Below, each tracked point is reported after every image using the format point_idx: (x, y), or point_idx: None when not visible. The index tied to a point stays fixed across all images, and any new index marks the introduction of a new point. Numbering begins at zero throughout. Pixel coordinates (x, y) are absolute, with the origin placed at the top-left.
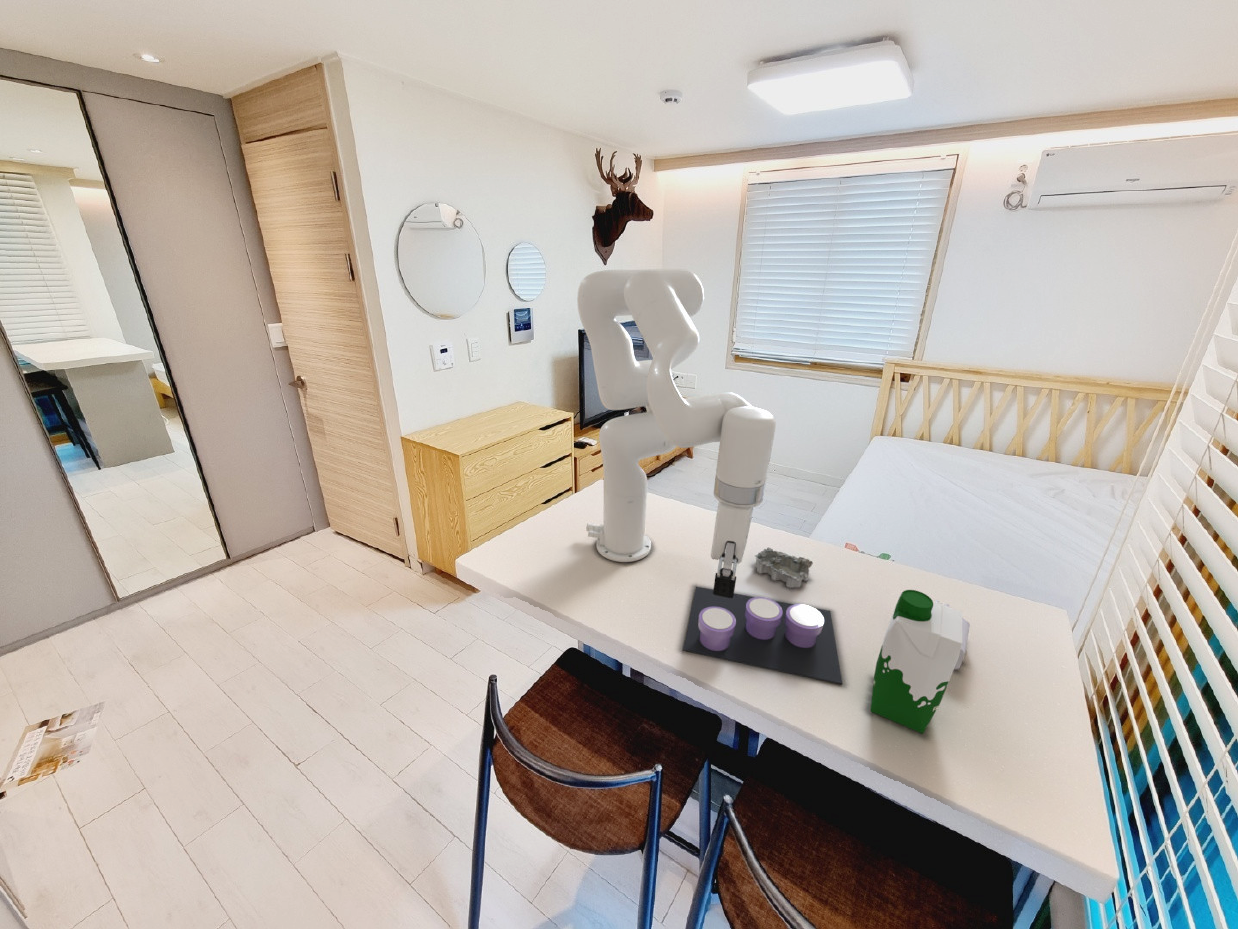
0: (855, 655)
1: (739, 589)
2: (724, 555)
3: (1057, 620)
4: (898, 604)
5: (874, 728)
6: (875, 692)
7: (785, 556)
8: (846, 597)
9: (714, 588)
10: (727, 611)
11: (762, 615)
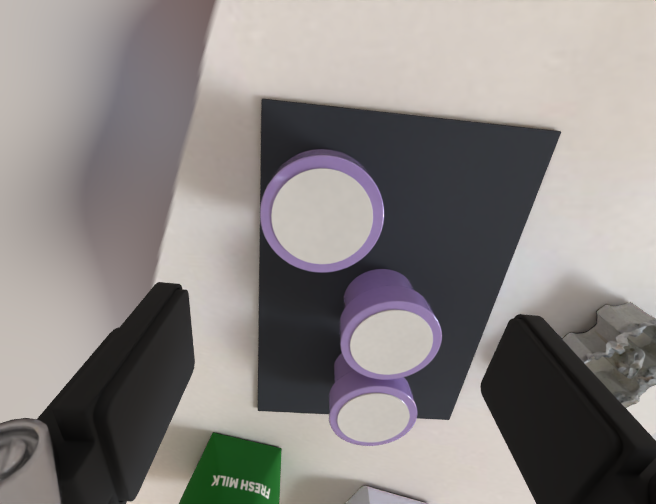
0: (334, 433)
1: (535, 258)
2: (522, 363)
3: None
4: None
5: (182, 430)
6: (207, 470)
7: (643, 381)
8: (492, 443)
9: (138, 310)
10: (364, 249)
11: (359, 338)
